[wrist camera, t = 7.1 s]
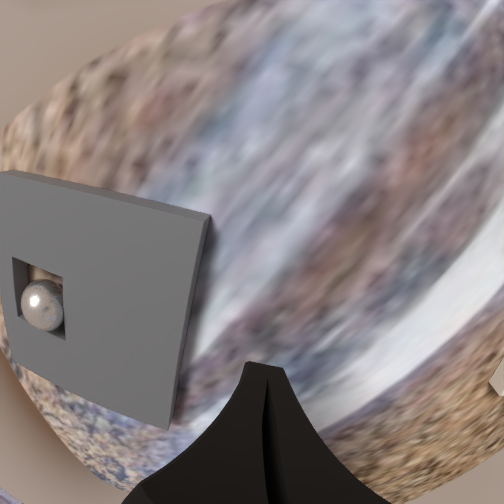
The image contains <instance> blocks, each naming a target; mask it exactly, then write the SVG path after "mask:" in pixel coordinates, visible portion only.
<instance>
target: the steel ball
mask: <svg viewBox="0 0 504 504" xmlns="http://www.w3.org/2000/svg"><path fill="white" fill-rule="evenodd" d="M21 309H22V313H23V315H24V317H25V319H26V320H27V322H28V323H29V324H30V325H31V326H32V327H34V328H36V329H38V330H41V331H51V330H54V329H56V328H58V327H59V326H60V325H61V324H62V323H63V321H64V308H63V290H62V288H61V287H60V286H59V285H58V284H57V283H55V282H54V281H52V280H49V279H37V280H35V281H33V282H31V283H30V284H29V285H28V286H27V287H26V288H25V290H24V292H23V294H22V298H21Z"/></svg>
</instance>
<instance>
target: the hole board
mask: <svg viewBox="0 0 504 504" xmlns="http://www.w3.org/2000/svg"><path fill="white" fill-rule="evenodd" d="M210 216H211V215H209V214H205V213H201V212H197V211H193V210H189V209H185V208H181V207H177V206H173V205H169V204H165V203H161V202H156V201H152V200H148V199H144V198H140V197H135V196H131V195H127V194H123V193H118V192H114V191H110V190H105V189H101V188H97V187H92V186H88V185H83V184H79V183H74V182H70V181H65V180H60V179H56V178H51V177H46V176H42V175H37V174H32V173H27V172H22V171H17V170H10V171H4V172H0V295H1V302H2V309H3V315H4V321H5V326H6V331H7V336H8V340H9V345H10V349H11V353H12V357H13V360H14V361H15V362H17V363H19V364H20V365H22V366H23V367H25V368H27V369H29V370H30V371H32V372H34V373H35V374H37V375H39V376H41V377H43V378H44V379H46V380H48V381H50V382H52V383H54V384H56V385H58V386H60V387H61V388H63V389H65V390H67V391H69V392H72V393H74V394H76V395H78V396H80V397H82V398H84V399H86V400H89V401H91V402H93V403H95V404H98V405H100V406H102V407H105V408H107V409H110V410H112V411H115V412H117V413H120V414H122V415H125V416H127V417H130V418H133V419H136V420H138V421H141V422H144V423H147V424H150V425H153V426H156V427H159V428H162V429H165V430H168V429H169V426H170V423H171V420H172V417H173V415H174V408H175V401H176V394H177V388H178V382H179V375H180V369H181V363H182V357H183V351H184V345H185V340H186V334H187V329H188V323H189V318H190V312H191V307H192V302H193V297H194V292H195V286H196V281H197V277H198V272H199V267H200V262H201V257H202V252H203V248H204V243H205V238H206V234H207V229H208V225H209V220H210ZM28 263H29V264H31V265H33V266H36V267H38V268H40V269H43V270H45V271H48V272H50V273H53V274H55V275H58V276H60V277H63V308H64V322H63V323H62V324H61V325H60V326H59V327H58V328H56V329H54V330H51V331H41V330H38V329H36V328H34V327H32V326H31V325H30V324H29V323H28V322H27V320H26V319H25V317H24V315H23V313H22V309H21V298H22V294H23V292H24V290H25V288H26V287H27V286H28V285H29V280H28Z"/></svg>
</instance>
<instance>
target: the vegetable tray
mask: <svg viewBox="0 0 504 504" xmlns="http://www.w3.org/2000/svg"><path fill="white" fill-rule="evenodd" d="M489 383H490V384H491V385H492V387H493V388H494V389H495V391H496V392H497V393H498V394H499V396H504V357H503V359H502V361H501V362H500V364H499V366H498V367H497V369H496V371H495V372H494V374H493V375H492V377H491V378H490V380H489Z"/></svg>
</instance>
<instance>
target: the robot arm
mask: <svg viewBox="0 0 504 504" xmlns="http://www.w3.org/2000/svg"><path fill="white" fill-rule="evenodd" d="M0 504H23V503H21V502H20V501H18V500H16V499H15V498H14V497H13V496H11V495H10V494H8V493H7V492H6V491H4V490H3V489H1V488H0ZM122 504H391V503H390V502H388V501H387V500H385V499H384V498H382V497H381V496H379V495H378V494H376V493H375V492H373V491H372V490H371V489H369V488H368V487H367V486H366V485H364V484H363V483H362V482H361V481H360V480H358V479H357V478H356V477H355V476H354V475H353V474H352V473H351V472H350V471H349V470H348V469H347V468H346V467H345V466H344V465H343V464H342V463H341V462H340V461H339V460H338V459H337V458H336V457H335V456H334V455H333V453H332V452H331V451H330V450H329V449H328V447H327V446H326V445H325V443H324V442H323V441H322V439H321V438H320V437H319V435H318V434H317V432H316V431H315V429H314V428H313V426H312V424H311V423H310V421H309V420H308V418H307V416H306V414H305V413H304V411H303V409H302V407H301V405H300V403H299V402H298V400H297V398H296V396H295V393H294V391H293V389H292V387H291V385H290V383H289V380H288V378H287V376H286V373H285V371H284V369H283V368H280V367H275V366H270V365H265V364H260V363H256V362H251V361H248V362H246V363H245V365H244V368H243V372H242V375H241V378H240V382H239V384H238V386H237V387H236V389H235V391H234V393H233V394H232V396H231V398H230V399H229V401H228V402H227V404H226V405H225V407H224V408H223V409H222V411H221V412H220V414H219V415H218V416H217V417H216V419H215V420H214V421H213V422H212V424H211V425H210V426H209V427H208V428H207V429H206V430H205V431H204V432H203V433H202V434H201V435H200V436H199V437H198V438H197V439H196V440H195V441H194V442H193V443H192V444H191V445H190V446H189V447H188V448H187V449H186V450H185V451H183V452H182V453H181V454H180V455H178V456H177V457H176V458H175V459H173V460H172V461H171V462H170V463H168V464H167V465H166V466H164V467H163V468H161V469H160V470H158V471H157V472H155V473H153V474H152V475H150V476H149V477H147V478H145V479H144V480H142V481H141V482H139V484H138V485H137V486H136V487H135V488H134V489H133V490H132V491H131V492H130V493H129V495H128V496H127V497H126V498H125V499H124V501H123V502H122Z"/></svg>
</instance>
